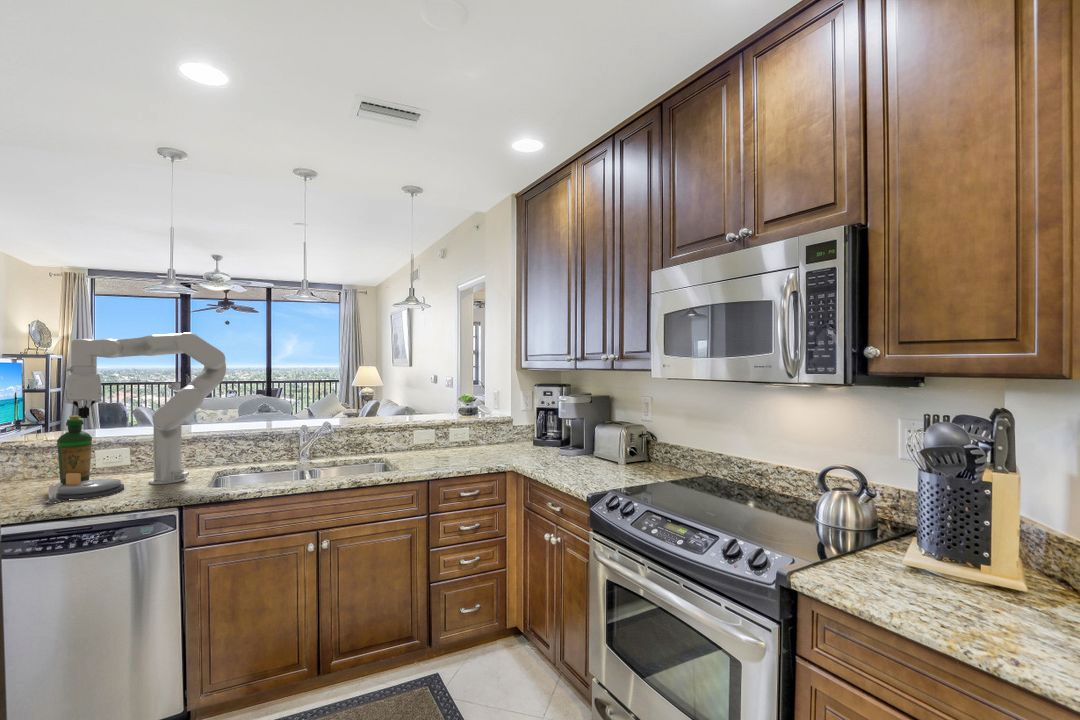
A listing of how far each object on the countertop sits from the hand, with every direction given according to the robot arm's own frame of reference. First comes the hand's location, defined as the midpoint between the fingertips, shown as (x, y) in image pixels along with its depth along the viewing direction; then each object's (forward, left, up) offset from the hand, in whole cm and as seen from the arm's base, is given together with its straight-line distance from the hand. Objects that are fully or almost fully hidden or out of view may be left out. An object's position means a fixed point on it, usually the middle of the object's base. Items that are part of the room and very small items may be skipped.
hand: (83, 417), depth 203 cm
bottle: (+12, -7, -28) cm, 32 cm away
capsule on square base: (-6, +17, -28) cm, 33 cm away
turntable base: (-6, +4, -28) cm, 29 cm away
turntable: (-6, +4, -26) cm, 27 cm away
